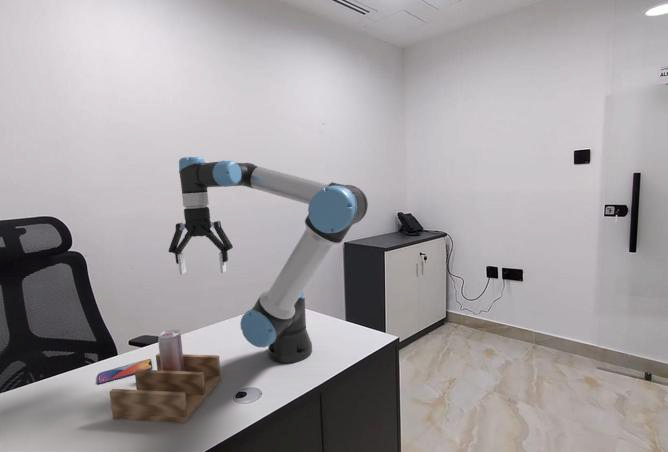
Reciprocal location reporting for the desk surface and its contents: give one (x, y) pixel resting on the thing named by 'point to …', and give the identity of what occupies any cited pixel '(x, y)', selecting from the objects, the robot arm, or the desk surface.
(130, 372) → the smartphone
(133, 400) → the rack
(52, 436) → the desk surface
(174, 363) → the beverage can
